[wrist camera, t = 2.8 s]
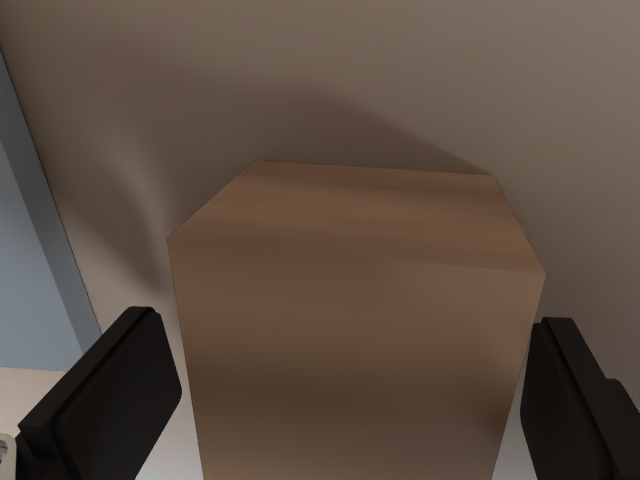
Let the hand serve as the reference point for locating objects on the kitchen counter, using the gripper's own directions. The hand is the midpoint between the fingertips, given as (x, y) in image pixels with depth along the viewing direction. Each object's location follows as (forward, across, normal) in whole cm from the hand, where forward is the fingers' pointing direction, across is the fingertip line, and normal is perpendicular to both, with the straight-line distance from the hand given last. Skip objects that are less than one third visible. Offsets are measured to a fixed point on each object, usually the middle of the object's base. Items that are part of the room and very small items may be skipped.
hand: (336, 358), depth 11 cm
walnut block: (+2, 0, 0) cm, 2 cm away
